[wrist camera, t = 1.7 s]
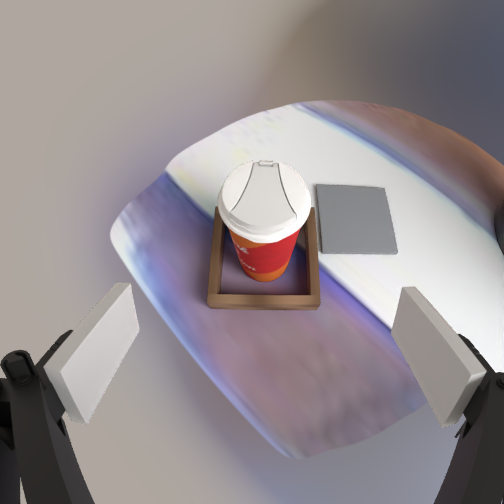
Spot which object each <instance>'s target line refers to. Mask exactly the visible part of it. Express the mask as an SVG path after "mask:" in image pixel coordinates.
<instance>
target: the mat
mask: <svg viewBox="0 0 504 504" xmlns="http://www.w3.org/2000/svg"><path fill="white" fill-rule="evenodd" d="M316 190H317V200H318V210H319V221H320V233H321V245H322V254H397V253H398V250H397V245H396V239H395V234H394V229H393V224H392V219H391V214H390V210H389V205H388V201H387V197H386V192H385V188H375V187H360V186H342V185H319V184H317V186H316Z"/></svg>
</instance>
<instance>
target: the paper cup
mask: <svg viewBox="0 0 504 504" xmlns="http://www.w3.org/2000/svg"><path fill="white" fill-rule="evenodd" d="M310 208H311V198H310V194H309V191H308V189H307V187H306V185H305V183H304V181H303V179H302V177H301V176H300V175H299V174H298V173H297V172H296V171H295V170H294V169H293V168H291V167H290V166H288V165H286V164H284V163H282V162H279V164H278V163H273V161H259V162H254V163H253V161H250V162H247V163H244V164H242V165H240V166H239V167H237V168H236V169H235V170H233V171H232V172H231V173H230V174H229V175H228V177H227V178H226V180H225V182H224V184H223V186H222V188H221V190H220V193H219V197H218V209H219V213H220V216H221V218H222V220H223V221H224V223H225V224H226V225H227V226H228V228H229V231H230V234H231V237H232V240H233V243H234V246H235V249H236V252H237V255H238V257H239V260H240V263H241V265H242V268H243V270H244V271H245V273H246V274H247V275H248V276H249V277H250V278H252V279H254V280H256V281H260V282H269V281H273V280H275V279H277V278H279V277H280V276H281V275H282V274H283V273H284V271H285V270H286V268H287V265H288V263H289V260H290V258H291V255H292V252H293V249H294V246H295V243H296V240H297V237H298V234H299V231H300V228H301V226H302V225H303V224H304V223H305V221H306V220H307V217H308V215H309V212H310Z"/></svg>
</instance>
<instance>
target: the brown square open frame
mask: <svg viewBox="0 0 504 504" xmlns="http://www.w3.org/2000/svg"><path fill="white" fill-rule="evenodd" d="M303 225H304V226H305V245H306V266H307V294H308V295H231V294H220V292H221V277H222V262H223V249H224V235H225V223H224V221H223V220H222V218H221V216H220V213H219V209H218V207H216V208H215V217H214V227H213V237H212V248H211V259H210V270H209V282H208V295H207V304H208V305H209V307H210V308H211V309H242V310H317V309H318V307H319V306H320V283H319V264H318V248H317V234H316V221H315V210H314V207H311V208H310V212H309V215H308V217H307V220H306V221H305V223H304V224H303Z"/></svg>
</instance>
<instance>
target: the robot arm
mask: <svg viewBox="0 0 504 504" xmlns="http://www.w3.org/2000/svg"><path fill="white" fill-rule="evenodd" d="M495 229H496V234H497V238H498V241H499V244H500V246H501V249H502V251H503V253H504V201H503V202H502V203H501V204H500V205H499V206H498V208H497V210H496V213H495ZM139 331H140V330H139V325H138V320H137V315H136V310H135V305H134V300H133V294H132V288H131V283H120V282H117V283H116V284H115V285H114V286H113V287H112V288H111V289H110V290H109V291H108V293H107V294H106V295H105V296H104V297H103V298H102V299H101V300H100V301H99V302H98V303H97V305H96V306H95V307H94V308H93V309H92V310H91V311H90V312H89V314H88V315H87V316H86V317H85V318H84V319H83V320H82V322H81V323H80V324H79V325H78V326H77V327H76V328H75V330H69V331H68V332H66V333H64V334H63V335H61V336H60V337H59V339H58V340H57V341H56V342H55V344H53V345H52V346H51V348H50V350H48V351H47V352H46V353H45V355H44V356H43V357H42V358H41V359H40V361H39V362H38V363H37V364H36V365H34V363H33V361H32V359H31V357H30V354H29V353H28V352H26V351H24V350H17V351H13V352H10V353H9V354H7V355H6V356H5V357H4V358H3V359H2V361H1V364H0V366H1V368H2V370H3V372H4V373H5V375H6V377H7V378H6V379H5V378H0V504H20V477H21V481H22V486H23V490H24V494H25V498H26V502H27V504H95V503H94V501H93V499H92V497H91V495H90V492H89V490H88V488H87V485H86V483H85V480H84V478H83V475H82V473H81V470H80V468H79V465H78V463H77V459H76V457H75V454H74V451H73V448H72V445H71V442H70V439H69V436H68V433H67V429H66V426H65V422H64V420H63V419H62V415H63V413H64V412H65V411H66V412H67V414H68V416H69V418H70V419H71V420H72V421H75V422H78V423H82V424H85V425H87V424H88V422H89V420H90V418H91V416H92V414H93V413H94V411H95V409H96V407H97V405H98V403H99V401H100V399H101V398H102V396H103V394H104V392H105V390H106V389H107V387H108V385H109V383H110V381H111V379H112V378H113V376H114V374H115V372H116V371H117V369H118V367H119V365H120V363H121V362H122V360H123V358H124V356H125V355H126V353H127V351H128V350H129V348H130V346H131V344H132V342H133V341H134V339H135V338H136V336H137V334H138V332H139ZM391 335H392V337H393V339H394V340H395V342H396V344H397V345H398V347H399V349H400V351H401V352H402V354H403V356H404V358H405V360H406V361H407V363H408V365H409V367H410V369H411V370H412V372H413V374H414V376H415V378H416V379H417V381H418V383H419V385H420V387H421V389H422V391H423V393H424V395H425V396H426V398H427V400H428V402H429V404H430V406H431V408H432V410H433V412H434V414H435V416H436V418H437V420H438V422H439V424H440V426H441V428H442V427H446V426H450V425H453V424H456V423H457V422H458V420H459V418H460V417H461V415H462V414H464V416H465V417H466V420H465V422H464V424H463V425H462V427H461V428H460V429H459V431H458V432H457V434H456V436H455V438H457V437H458V435H459V434H460V436H459V439H458V443H457V446H456V449H455V452H454V455H453V458H452V460H451V463H450V466H449V468H448V471H447V474H446V476H445V479H444V481H443V484H442V486H441V489H440V491H439V493H438V495H437V497H436V500H435V502H434V504H501V502H502V498H503V502H502V504H504V373H502V372H498V373H495V371H494V370H493V369H492V368H491V366H490V365H489V364H488V362H487V361H486V360H485V359H484V358H483V356H482V355H481V354H479V351H478V350H477V349H476V348H475V347H474V345H473V344H472V343H471V342H470V341H469V340H468V339H467V338H465V337H464V336H463V335H461V334H457V333H456V332H455V331H454V330H453V329H452V327H451V326H450V325H449V324H448V323H447V322H446V320H445V319H444V318H443V317H442V316H441V315H440V314H439V312H438V311H437V310H436V309H435V308H434V307H433V306H432V305H431V303H430V302H429V301H428V300H427V299H426V298H425V297H424V296H423V295H422V294H421V292H420V291H419V290H418V289H417V288H416V287H402V290H401V295H400V299H399V304H398V308H397V312H396V316H395V320H394V324H393V327H392V331H391Z"/></svg>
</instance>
